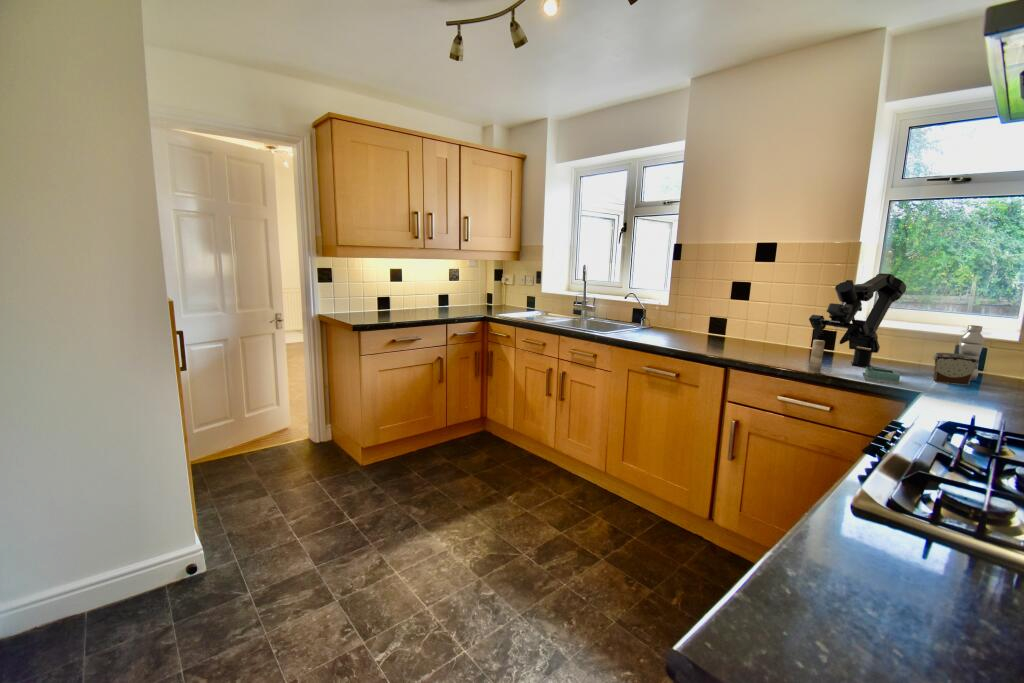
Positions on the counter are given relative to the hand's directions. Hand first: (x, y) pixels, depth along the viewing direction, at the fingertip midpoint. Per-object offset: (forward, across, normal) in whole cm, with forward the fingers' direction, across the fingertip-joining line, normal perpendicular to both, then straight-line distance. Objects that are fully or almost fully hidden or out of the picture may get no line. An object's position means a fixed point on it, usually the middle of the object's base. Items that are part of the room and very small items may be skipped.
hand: (826, 341), depth 172 cm
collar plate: (+3, +16, +14) cm, 21 cm away
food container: (-13, +27, +29) cm, 42 cm away
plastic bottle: (-20, +28, +36) cm, 50 cm away
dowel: (+12, 0, +5) cm, 13 cm away
